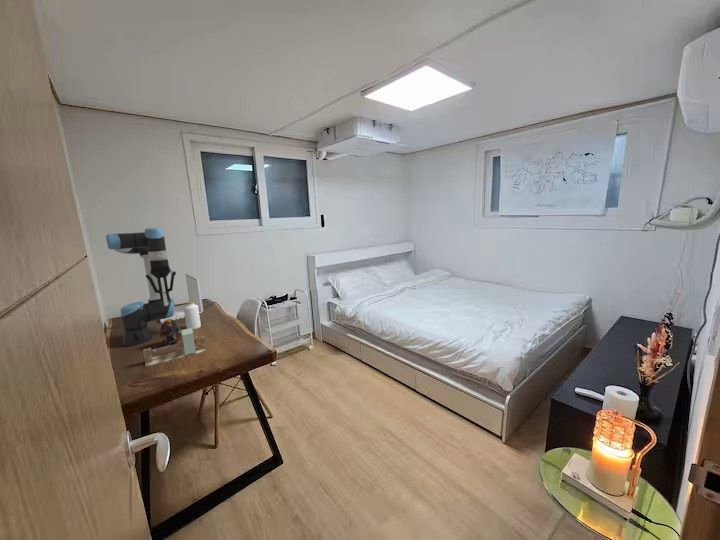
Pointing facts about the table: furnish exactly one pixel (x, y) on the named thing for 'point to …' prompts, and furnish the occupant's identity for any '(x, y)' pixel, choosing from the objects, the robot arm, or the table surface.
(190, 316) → the potion bottle
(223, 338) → the table surface
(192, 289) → the laptop
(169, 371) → the table surface
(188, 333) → the block
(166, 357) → the rail
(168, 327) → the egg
